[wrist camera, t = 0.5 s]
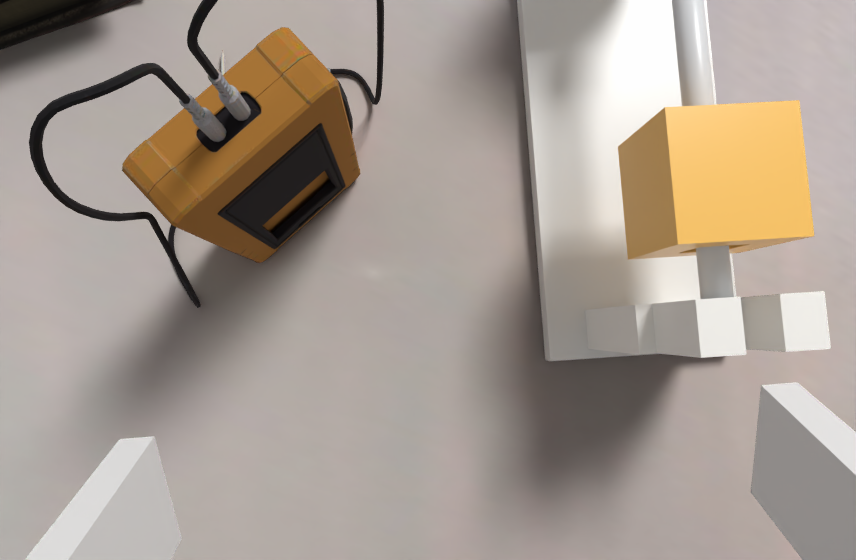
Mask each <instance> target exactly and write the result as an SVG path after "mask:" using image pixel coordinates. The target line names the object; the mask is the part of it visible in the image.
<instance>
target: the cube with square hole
mask: <svg viewBox="0 0 856 560" xmlns="http://www.w3.org/2000/svg"><path fill="white" fill-rule="evenodd" d="M618 155H619V166H620V177H621V189H622V200H623V211H624V222H625V233H626V244H627V256H628V260H629V259H645V258H662V257H678V256H694V255H696V248H699V247H712V246H728V245H729V253H741V252H745V251H750V250H754V249H759V248H763V247H768V246H772V245H777V244H781V243H786V242H790V241H794V240H799V239H803V238H808V237H812V236H814V229H813V220H812V211H811V202H810V193H809V184H808V175H807V166H806V157H805V148H804V139H803V130H802V121H801V112H800V103H799V100H796V101H776V102H757V103H737V104H717V105H697V106H678V107H664V108H663V109H662V110H661V111H660V112H659V113H657V114H656V115H655V116H654V117H653V118H651V119H650V120H649V121H648V122H647V123H645V124H644V125H643V126H642V127H641V128H639V129H638V130H637V131H636V132H635V133H633V134H632V135H631V136H630V137H629V138H628V139H626V140H625V141H624V142H623V143H622V144H620V145H619V146H618Z"/></svg>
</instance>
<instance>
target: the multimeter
mask: <svg viewBox="0 0 856 560" xmlns="http://www.w3.org/2000/svg"><path fill="white" fill-rule="evenodd" d="M217 1H218V0H203V1H202V2H201V3H200V5H199V7H198V9H197V11H196V12H195V14H194V16H193V19H192V22H191V25H190V27H189V30H188V37H187V43H188V47H189V50H190V51H191V52H192V54H193V55H194V56H195V58H196V59H197V60H198V62H199V63H200V64H201V66H202V67H203V68H204V70H205V71H206V72H207V74H208V78H209V80H210V81H211V82H212V85H211V86H210V87H208V88H207V89H206V90H205V91H204V92H203V93H201V94H200V95H199V96H198V97H197V98H196V99H194V98H193V97H192V96H191V95H190V94H186V93H185V92H184V91H183V90H182V89H181V88H180V87H179V86H178V84H177V83H176V82H175V81H174V80H173V79H172V78H171V77H170V76H169V75H168V74H167V72H166V71H165V70H164V69H163V68H162V67H160V66H159V65H157V64H155V63H146V64H141V65H139V66H136V67H134V68H132V69H130V70H128V71H126V72H124V73H122V74H120V75H118V76H116V77H113V78H111V79H109V80H106V81H104V82H102V83H99V84H97V85H94V86H91V87H89V88H86V89H83V90H79V91H76V92H73V93H70V94H67V95H65V96H63V97H60V98H58V99H56V100H54V101H52V102H51V103H49V104H48V105H47V106H46V107H45V108H44V109H43V110H42V111H41V112H40V113H39V114H38V115H37V117H36V119H35V121H34V123H33V125H32V128H31V132H30V140H29V146H30V154H31V159H32V161H33V164H34V167H35V170H36V172H37V174H38V175H39V177H40V179H41V180H42V182H43V184H44V185H45V186H46V187H47V188H48V190H49V191H50V192H51V193H52V194H53V195H54V196H55V198H57V199H58V200H59V201H60V202H61V203H63V204H64V205H65V206H66V207H68V208H70V209H72V210H74V211H76V212H77V213H80V214H83V215H86V216H89V217H92V218H96V219H101V220H107V221H126V220H136V219H147V220H149V222H150V224H151V226H152V227H153V229H154V231H155V233H156V235H157V236H158V238H159V240H160V242H161V244H162V245H163V247H164V249H165V251H166V253H167V254H168V256H169V258H170V260H171V262H172V263H173V265H174V267H175V270H176V272H177V274H178V276H179V278H180V280H181V282H182V284H183V286H184V288H185V289H186V291H187V293H188V295H189V296H190V298H191V300H192V301H193V303H194V304H195V306H196V307H197V308H198V307H200V306H201V304H200V302H199V300H198V298H197V296H196V294H195V292H194V290H193V288H192V286H191V284H190V282H189V280H188V278H187V277H186V275H185V273H184V271H183V269H182V267H181V265H180V264H179V262H178V260H177V258H176V255H175V251H174V232H175V228H176V227H177V228H180V229H182V230H184V231H186V232H189V233H191V234H193V235H195V236H197V237H200V238H202V239H204V240H206V241H209V242H211V243H213V244H215V245H217V246H220V247H222V248H224V249H226V250H229V251H231V252H234V253H236V254H239V255H241V256H244V257H246V258H249V259H251V260H254V261H255V262H258V263H261V262H263V261H265V260H266V259H268V258H269V257H270V256H271V255H272V254H273V253H275V252H276V251H277V250H278V248H279V247H280V246H282V245H283V244H284V243H285V242H286V241H287V240H288V239H289V238H290V237H292V236H293V235H294V234H295V233H296V232H297V231H298V230H299V229H301V228H302V227H303V226H304V225H305V224H306V223H307V222H308V221H310V220H311V219H312V218H313V217H314V216H315V215H316V214H317V213H318V212H320V211H321V210H322V209H323V208H324V207H325V206H326V205H327V204H329V203H330V202H331V201H332V200H333V199H334V198H335V197H336V196H337V195H339V194H340V193H341V192H342V191H343V190H344V189H346V188H347V187H348V186H349V185H351V184H352V183H353V182H354V181H355V180H356V179H357V178H358V176H359V175H360V169H359V166H358V161H357V157H356V152H355V147H354V142H353V138H352V129H353V122H352V116H351V112H350V108H349V105H348V101H347V97H346V95H345V93H344V90H343V88H342V86H341V84H340V82H339V81H338V80H337V79H336V78H335V77H334V76H333V75H332V74H348V75H351V76H354V77H355V78H357V79H358V80H359V81H360V82H361V84H362V85H363V86H364V88H365V90H366V91H367V93H368V96H369V98H370V100H371V102H372V104H375V105H377V104H378V102H379V100H380V96H381V89H382V75H383V41H384V2H383V0H377V86H376V96H375V98H374V96H373V94H372V92H371V90H370V88H369V86H368V84H367V83H366V81H365V80H364V79H363V78H362V77H361V76H360V75H359V74H358V73H356V72H354V71H352V70H347V69H329V68H326V67H325V66H324V65H323V64H322V63H321V62H320V61H319V60H318V59H317V58H316V57H315V56H314V54H313V53H312V52H311V51H310V50H309V49H308V48H307V47H306V46H305V45H304V44H303V43H302V42H301V41H300V39H299V38H298V37H297V36H296V35H295V34H294V33H293V32H292V31H291V30H290V29H289V28H285V27H282V28H280V29H278V30H276V31H274V32H272V33H271V34H270V35H268V36H267V37H266V38H265V39H263V40H262V41H261V42H260V43H258V44H257V46H256V47H255V48H254V49H253V50H252V51H251V52H249V53H248V54H247V55H246V56H245V57H244V58H242V59H241V60H240V61H239V62H238V63H236V64H235V65H234V66H233V67H232V68H231V69H229V70H228V71H227V72H226V73H225V57H224V53H223V50H222V54H221V72H220V71H219V70H217V69H215V68H214V66H213V65H212V64H211V62H210V61H209V59H208V58H207V57H206V55H205V54H204V52H203V51H202V50H201V48H200V47H199V45H198V42H197V37H198V34H199V32H200V29H201V26H202V24H203V22H204V20H205V18H206V17H207V15H208V13H209V12H210V10H211V9H212V8H213V6H214V5H215V3H216V2H217ZM148 74H154V75H156V76H157V77H158V78H159V79H161V80H162V81H163V83H164V84H165V85H166V86H167V87H168V88H169V89H170V90H171V91H172V92H173V93H174V94H175V95H176V96H177V97H178V98H179V102H180V104H181V105H182V106H183V107H184V109H183V110H182V111H180V112H179V113H178V114H177V115H176V116H175V117H173V118H172V119H171V120H170V121H169V122H168V123H166V124H165V125H164V126H163V127H162V128H161V129H159V130H158V131H157V132H156V133H155V134H154V135H152V136H151V137H150V138H149V139H148V140H145V141H144V142H143V143H142V144H140V145H139V146H138V147H137V148H136V149H135V150H134V151H133V152H132V153H131V154H130V155H129V156H128V157H127V158H126V160H125V161H124V163H123V167H122V171H123V172H124V173H125V174H126V175H127V176H128V177H129V179H130V180H131V181H132V182H133V183H134V184H135V185H136V186H137V187H138V188H139V189H140V191H141V192H142V193H143V194H144V195H145V196H146V197H147V198H148V199H149V200H150V201H151V203H152V204H153V205H154V206H155V207H156V208H157V209H158V210H159V211H160V212H161V214H162V215H163V216H164V217H165V218H166V219H167V220H168V221H169V222H170V223H171V227H170V231H169V242H168V241H167V239H166V237H165V236H164V234H163V232H162V230H161V228H160V226H159V224H158V222H157V220H156V219H155V217H154V216H153V215H152V214H150V213H148V212H136V213H122V214H120V213H109V212H104V211H99V210H95V209H92V208H90V207H87V206H84V205H81V204H80V203H78V202H76V201H74V200H73V199H71V198H69V197H68V196H67V195H66V194H65V193H64V192H62V191H61V190H60V188H59V187H58V186H57V185H56V183H55V182H54V180H53V179H52V177H51V175H50V173H49V171H48V169H47V166H46V163H45V160H44V157H43V149H42V140H43V134H44V130H45V128H46V126H47V124H48V122H49V120H50V119H51V118H52V117H53V116H54V115H55V114H56V113H57V112H60V111H62V110H64V109H66V108H69V107H71V106H73V105H76V104H80V103H83V102H86V101H89V100H92V99H95V98H98V97H100V96H103V95H106V94H108V93H111V92H113V91H115V90H117V89H119V88H122V87H124V86H126V85H128V84H130V83H132V82H134V81H136V80H137V79H139V78H141V77H143V76H146V75H148Z"/></svg>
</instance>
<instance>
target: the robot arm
mask: <svg viewBox="0 0 856 560" xmlns="http://www.w3.org/2000/svg"><path fill="white" fill-rule="evenodd" d="M751 493H752V494H753V496H754V497H755V498H756V500H757V501H758V502H759V504H760V505H761V506H762V507H763V509H764V510H765V511H766V513H767V514H768V515H769V517H770V518H771V519H772V520H773V522H774V523H775V524H776V526H777V527H778V528H779V530H780V531H781V532H782V534H783V535H784V536H785V537H786V539H787V540H788V541H789V543H790V544H791V545H792V547H793V548H794V549H795V550H796V552H797V553H798V554H799V556H800V557H801V558H802V560H856V432H855V431H854V430H853V429H851V428H850V427H849V426H848V425H847V424H845V423H844V422H843V421H842V420H841V419H840V418H838V417H837V416H836V415H835V414H834V413H833V412H831V411H830V410H829V409H828V408H827V407H826V406H824V405H823V404H822V403H821V402H820V401H818V400H817V399H816V398H815V397H814V396H813V395H811V394H810V393H809V392H808V391H807V390H806V389H804V388H803V387H802V386H801V385H800V384H799V383H797V382H795V383H783V384H771V385H761V392H760V403H759V413H758V423H757V433H756V444H755V454H754V464H753V474H752V484H751ZM181 539H182V538H181V534H180V530H179V526H178V523H177V519H176V515H175V511H174V508H173V504H172V500H171V496H170V493H169V489H168V485H167V481H166V478H165V474H164V470H163V466H162V463H161V459H160V455H159V451H158V448H157V444H156V440H155V436H151V437H139V438H128V439H119V441H118V442H117V443H116V444H115V446H114V447H113V448H112V449H111V451H110V452H109V453H108V455H107V456H106V457H105V458H104V460H103V461H102V462H101V463H100V465H99V466H98V467H97V469H96V470H95V471H94V472H93V474H92V475H91V476H90V477H89V479H88V480H87V481H86V483H85V484H84V485H83V486H82V488H81V489H80V490H79V491H78V493H77V494H76V495H75V497H74V498H73V499H72V500H71V502H70V503H69V504H68V505H67V507H66V508H65V509H64V511H63V512H62V513H61V514H60V516H59V517H58V518H57V519H56V521H55V522H54V523H53V525H52V526H51V527H50V528H49V530H48V531H47V532H46V533H45V535H44V536H43V537H42V539H41V540H40V541H39V542H38V544H37V545H36V546H35V547H34V549H33V550H32V551H31V553H30V554H29V555H28V556H27V558H26V559H25V560H171V559H172V557H173V555H174V553H175V551H176V549H177V547H178V545H179V543H180V541H181Z"/></svg>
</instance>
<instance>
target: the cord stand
mask: <svg viewBox="0 0 856 560" xmlns="http://www.w3.org/2000/svg"><path fill="white" fill-rule="evenodd" d="M517 8H518V21H519V34H520V47H521V59H522V72H523V85H524V97H525V110H526V123H527V135H528V148H529V161H530V173H531V186H532V199H533V211H534V224H535V237H536V249H537V262H538V275H539V287H540V300H541V313H542V326H543V338H544V351H545V360H547V361H562V360H577V359H591V358H606V357H620V356H635V355H649V354H668V355H678V356H689V357H699V358H705V357H719V356H733V355H746V349H748V350H765V351H781V352H791V351H805V350H819V349H831V346H830V337H829V328H828V319H827V310H826V301H825V292H824V291H819V292H804V293H788V294H775V295H764V296H753V297H742V298H741V297H736V290H735V280H734V270H733V260H732V253H729V245H728V246H712V247H699V248H696V255H694V256H678V257H662V258H645V259H629V260H628V256H627V244H626V233H625V222H624V211H623V200H622V189H621V177H620V166H619V155H618V146H619V145H620V144H622V143H623V142H624V141H625V140H626V139H628V138H629V137H630V136H631V135H632V134H633V133H635V132H636V131H637V130H638V129H639V128H641V127H642V126H643V125H644V124H645V123H647V122H648V121H649V120H650V119H651V118H653V117H654V116H655V115H656V114H657V113H659V112H660V111H661V110H662V109H663V108H664V107H678V106H697V105H717V103H716V93H715V83H714V73H713V63H712V54H711V44H710V34H709V24H708V14H707V4H706V0H517Z"/></svg>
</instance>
